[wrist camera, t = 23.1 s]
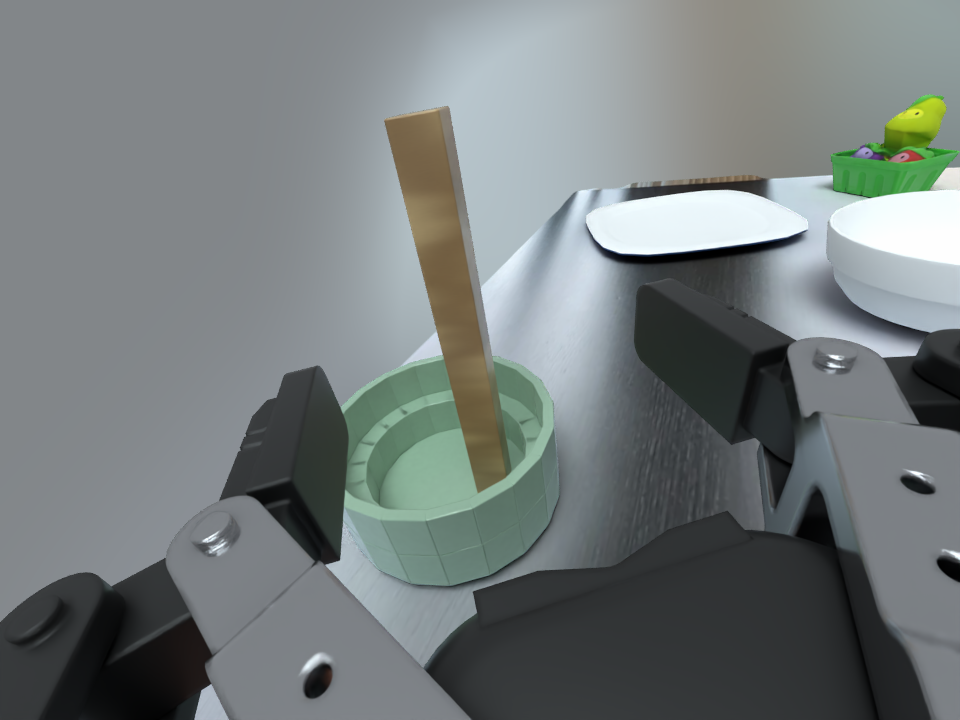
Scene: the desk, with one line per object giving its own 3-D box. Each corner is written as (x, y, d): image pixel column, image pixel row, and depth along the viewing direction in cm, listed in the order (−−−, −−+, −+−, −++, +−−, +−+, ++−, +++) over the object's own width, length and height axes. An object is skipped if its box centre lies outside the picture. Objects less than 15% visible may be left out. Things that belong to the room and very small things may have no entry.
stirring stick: (477, 494, 25) (383, 118, 14) (481, 468, 27) (399, 115, 16) (509, 494, 25) (438, 108, 14) (511, 468, 26) (449, 105, 15)
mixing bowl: (317, 586, 22) (269, 518, 19) (391, 420, 33) (368, 359, 30) (564, 598, 20) (556, 522, 16) (557, 415, 31) (551, 347, 27)
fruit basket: (817, 190, 63) (840, 105, 57) (871, 179, 63) (900, 92, 57) (891, 205, 53) (929, 104, 47) (954, 192, 54) (1000, 90, 47)
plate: (578, 217, 71) (578, 207, 70) (735, 195, 67) (737, 184, 66) (606, 272, 50) (606, 259, 49) (835, 244, 46) (840, 229, 46)
